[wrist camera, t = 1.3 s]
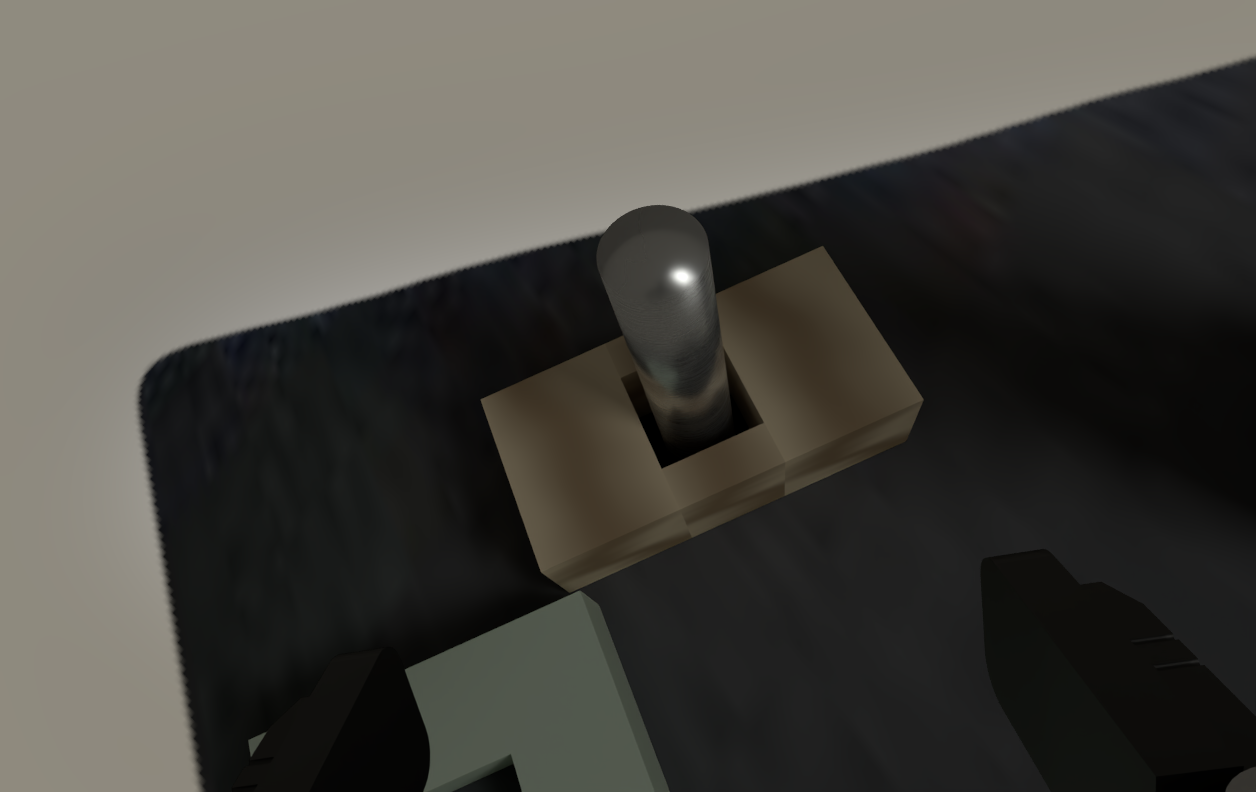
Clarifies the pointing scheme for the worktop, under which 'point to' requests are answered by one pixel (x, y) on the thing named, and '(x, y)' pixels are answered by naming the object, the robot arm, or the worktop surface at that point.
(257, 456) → the worktop surface
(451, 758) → the socket block
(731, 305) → the wooden block with hole
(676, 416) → the axle
